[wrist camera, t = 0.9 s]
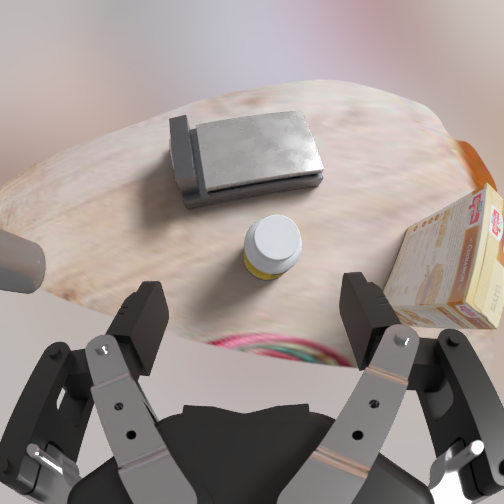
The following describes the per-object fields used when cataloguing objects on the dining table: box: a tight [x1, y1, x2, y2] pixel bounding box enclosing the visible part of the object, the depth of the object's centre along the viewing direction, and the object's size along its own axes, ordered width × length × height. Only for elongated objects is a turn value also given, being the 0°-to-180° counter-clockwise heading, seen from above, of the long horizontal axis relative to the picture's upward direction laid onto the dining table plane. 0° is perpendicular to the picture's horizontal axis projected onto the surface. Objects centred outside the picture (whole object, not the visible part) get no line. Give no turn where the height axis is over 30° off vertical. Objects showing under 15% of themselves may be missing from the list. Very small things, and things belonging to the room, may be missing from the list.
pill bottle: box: [244, 215, 302, 280], centre depth 33 cm, size 6×6×12 cm
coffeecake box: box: [383, 183, 504, 329], centre depth 30 cm, size 15×7×20 cm, turn 149°
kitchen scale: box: [169, 115, 323, 209], centre depth 38 cm, size 21×12×8 cm, turn 102°
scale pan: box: [196, 111, 324, 192], centre depth 38 cm, size 16×11×1 cm, turn 102°
